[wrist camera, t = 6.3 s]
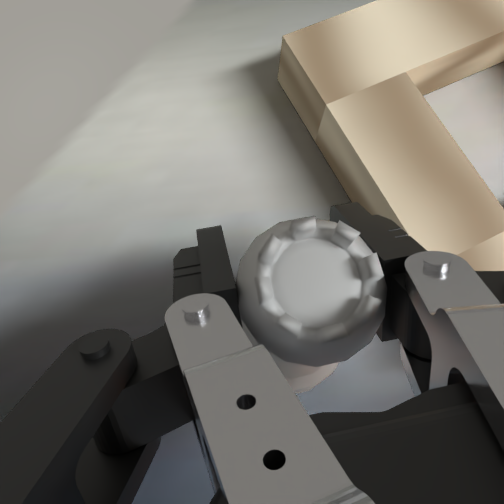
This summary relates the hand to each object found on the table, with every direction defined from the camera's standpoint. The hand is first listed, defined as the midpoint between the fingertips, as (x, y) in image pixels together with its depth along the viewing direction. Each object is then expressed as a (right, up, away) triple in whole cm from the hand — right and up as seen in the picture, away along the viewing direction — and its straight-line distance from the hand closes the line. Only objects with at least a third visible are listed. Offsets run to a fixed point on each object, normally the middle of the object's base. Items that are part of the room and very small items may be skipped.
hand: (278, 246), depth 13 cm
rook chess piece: (0, -3, +3) cm, 5 cm away
